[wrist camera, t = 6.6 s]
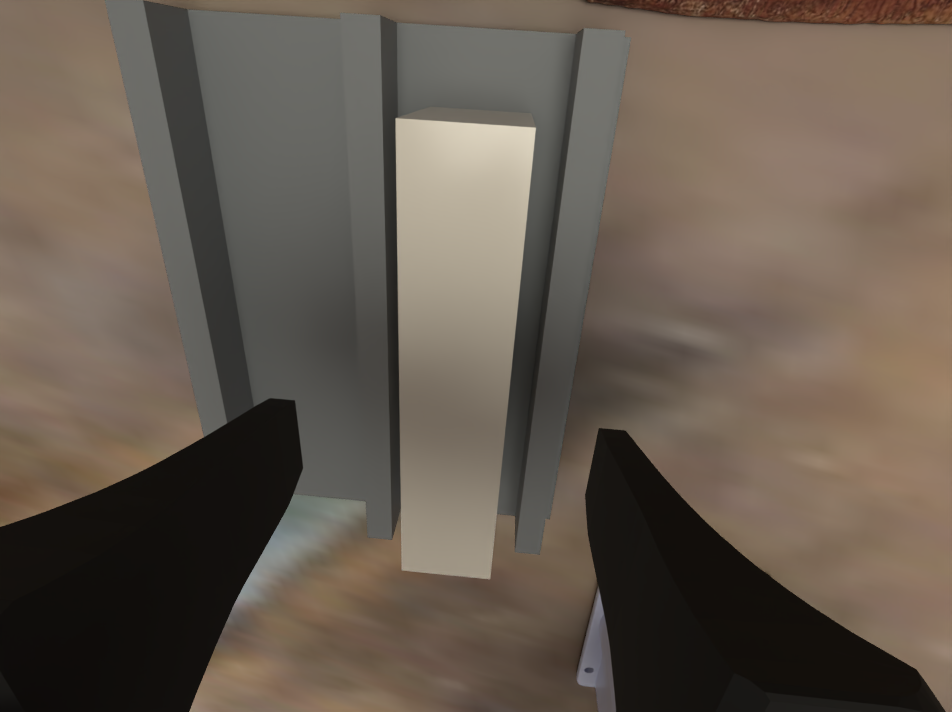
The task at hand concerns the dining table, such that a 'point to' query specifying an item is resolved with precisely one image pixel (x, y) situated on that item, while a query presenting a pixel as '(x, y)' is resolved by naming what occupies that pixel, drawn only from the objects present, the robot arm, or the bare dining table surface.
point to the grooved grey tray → (357, 220)
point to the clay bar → (457, 325)
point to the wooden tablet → (805, 10)
